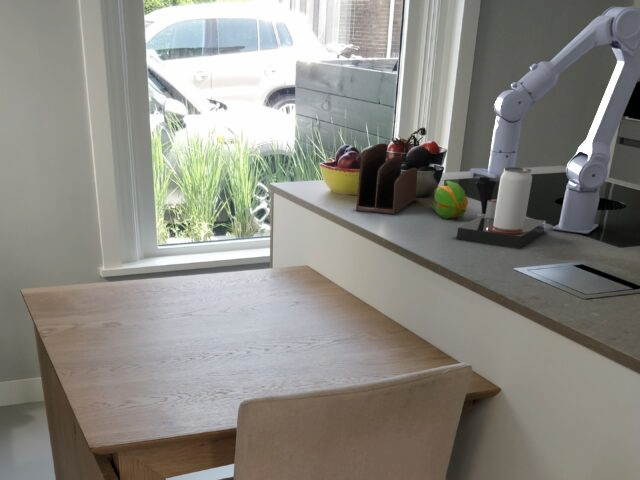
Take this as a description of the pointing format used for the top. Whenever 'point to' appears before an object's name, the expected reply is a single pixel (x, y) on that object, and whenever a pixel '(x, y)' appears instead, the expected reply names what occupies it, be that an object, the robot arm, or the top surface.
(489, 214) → the knob
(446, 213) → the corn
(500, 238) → the hob
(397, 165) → the letter holder
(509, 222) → the can
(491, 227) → the burner ring
